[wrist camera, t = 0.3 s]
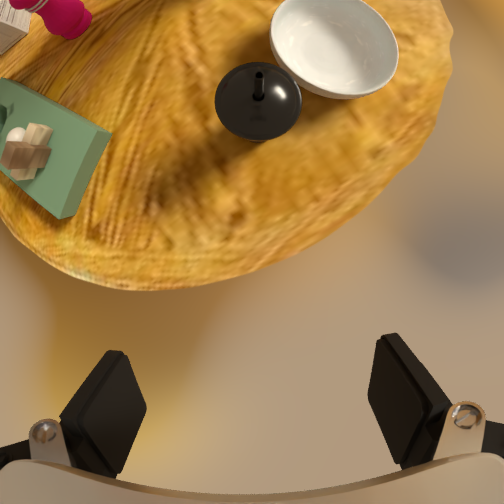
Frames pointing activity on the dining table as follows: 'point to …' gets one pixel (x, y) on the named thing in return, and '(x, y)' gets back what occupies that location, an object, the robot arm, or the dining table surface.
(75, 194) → the putting mat
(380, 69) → the cereal bowl
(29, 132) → the stacked wooden blocks
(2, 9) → the supplement box
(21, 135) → the ball
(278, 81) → the drinking cup
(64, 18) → the pepper mill
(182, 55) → the dining table surface
